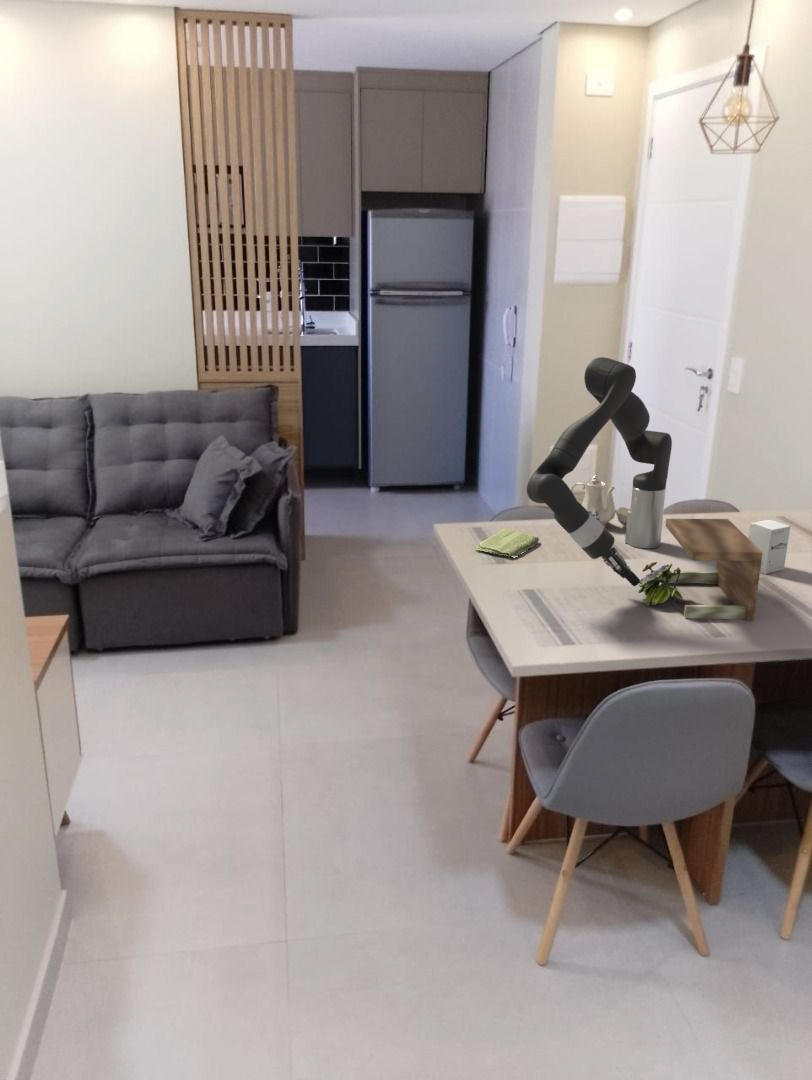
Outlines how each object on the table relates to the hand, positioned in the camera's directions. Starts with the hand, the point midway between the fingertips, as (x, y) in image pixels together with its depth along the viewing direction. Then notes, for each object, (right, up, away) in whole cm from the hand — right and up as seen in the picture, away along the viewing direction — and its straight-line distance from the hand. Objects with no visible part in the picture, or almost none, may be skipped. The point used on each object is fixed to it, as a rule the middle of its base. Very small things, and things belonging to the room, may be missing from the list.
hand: (637, 583), depth 217 cm
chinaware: (+3, +16, +59) cm, 61 cm away
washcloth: (-27, +8, +38) cm, 48 cm away
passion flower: (+6, -4, +1) cm, 7 cm away
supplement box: (+40, +3, +21) cm, 45 cm away
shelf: (+17, -4, +1) cm, 17 cm away
